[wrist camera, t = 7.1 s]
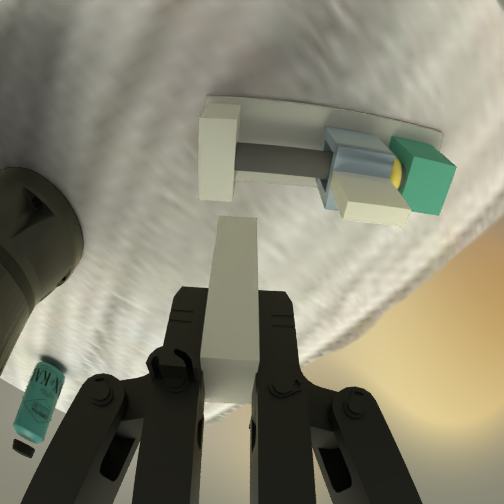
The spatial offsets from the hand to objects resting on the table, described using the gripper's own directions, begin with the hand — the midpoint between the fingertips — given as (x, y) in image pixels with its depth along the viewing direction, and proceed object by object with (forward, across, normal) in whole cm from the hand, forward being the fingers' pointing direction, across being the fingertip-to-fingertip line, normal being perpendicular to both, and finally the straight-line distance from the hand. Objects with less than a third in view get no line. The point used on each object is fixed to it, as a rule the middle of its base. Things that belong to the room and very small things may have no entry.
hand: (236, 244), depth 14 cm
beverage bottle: (+15, -34, -42) cm, 56 cm away
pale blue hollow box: (+12, +8, 0) cm, 15 cm away
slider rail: (+14, +7, 0) cm, 16 cm away
